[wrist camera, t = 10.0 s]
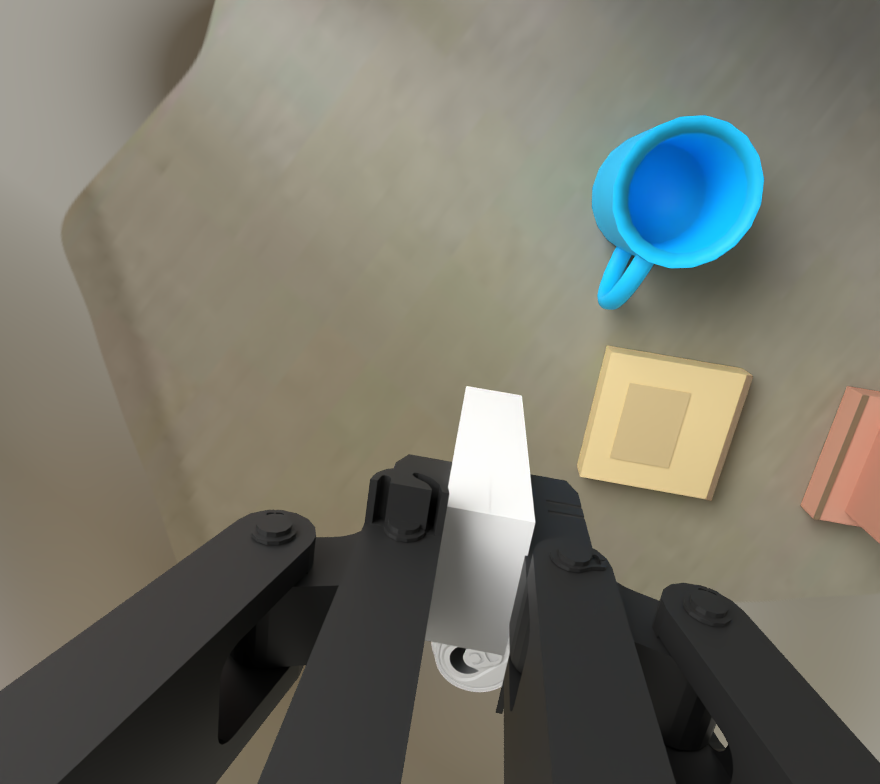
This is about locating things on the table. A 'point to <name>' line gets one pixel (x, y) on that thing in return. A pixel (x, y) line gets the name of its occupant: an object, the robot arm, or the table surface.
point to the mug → (674, 199)
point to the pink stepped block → (849, 466)
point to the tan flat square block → (662, 422)
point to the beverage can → (471, 667)
